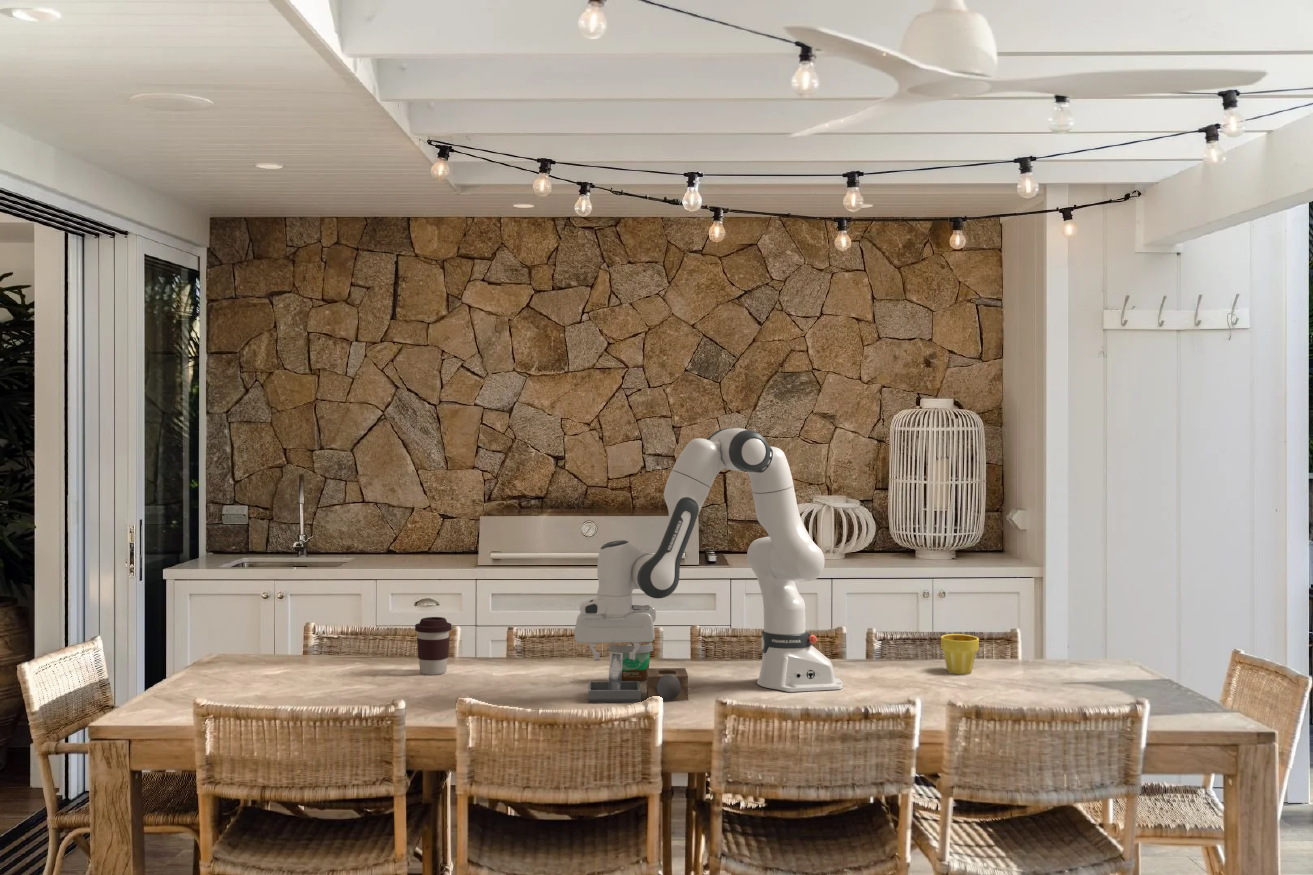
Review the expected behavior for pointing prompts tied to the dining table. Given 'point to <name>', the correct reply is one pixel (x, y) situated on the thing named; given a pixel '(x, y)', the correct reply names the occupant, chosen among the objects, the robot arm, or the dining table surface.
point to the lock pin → (615, 671)
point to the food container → (633, 661)
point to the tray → (614, 692)
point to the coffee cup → (433, 645)
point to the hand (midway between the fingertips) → (614, 659)
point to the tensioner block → (667, 683)
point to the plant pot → (959, 652)
